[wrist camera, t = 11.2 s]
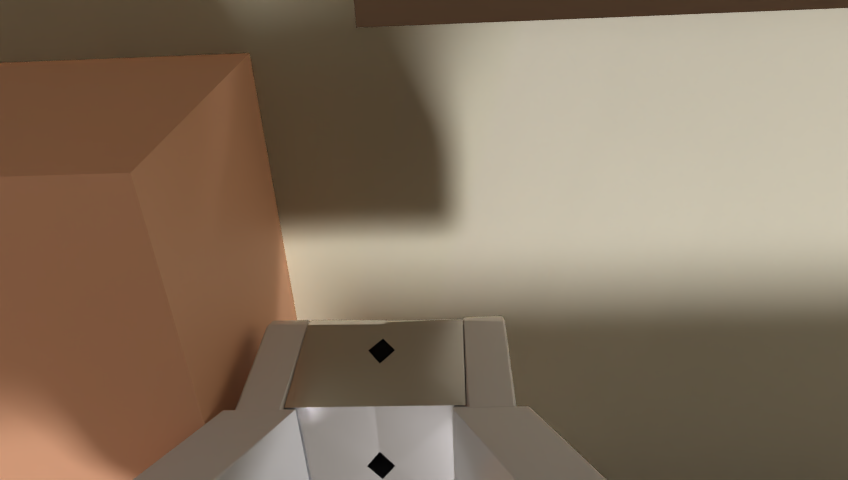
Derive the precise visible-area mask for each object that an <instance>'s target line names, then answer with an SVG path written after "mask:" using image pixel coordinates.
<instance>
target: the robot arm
mask: <svg viewBox="0 0 848 480" xmlns="http://www.w3.org/2000/svg"><path fill="white" fill-rule="evenodd" d="M133 480H607V479H605V478H604V477H603V476H602V475H601V474H600V473H599V472H598V471H597V470H596V469H595V468H594V467H593V466H592V465H591V464H590V463H589V462H587V461H586V460H585V459H584V458H583V457H582V456H581V455H580V454H579V453H578V452H577V451H576V450H575V449H574V448H573V447H572V446H570V445H569V444H568V443H567V442H566V441H565V440H564V439H563V438H562V437H561V436H560V435H559V434H558V433H557V432H556V431H555V430H554V429H552V428H551V427H550V426H549V425H548V424H547V423H546V422H545V421H544V420H543V419H542V418H541V417H540V416H539V415H538V414H537V413H535V412H534V411H533V410H532V409H531V408H530V407H529V406H516V399H515V392H514V384H513V377H512V369H511V362H510V354H509V347H508V340H507V332H506V325H505V319H504V318H503V317H502V316H483V317H464V320H463V319H436V320H395V321H387V320H312V321H309V320H283V321H273V322H272V323H270V324H269V325H268V326H267V328H266V330H265V333H264V335H263V338H262V341H261V343H260V346H259V349H258V351H257V354H256V356H255V359H254V362H253V364H252V367H251V370H250V372H249V375H248V377H247V380H246V383H245V385H244V388H243V391H242V393H241V396H240V398H239V401H238V404H237V406H236V409H235V410H223V411H222V412H220V413H219V414H218V415H216V416H215V417H214V418H213V419H211V420H210V421H209V422H207V423H206V424H205V425H203V426H202V427H201V428H200V429H198V430H197V431H196V432H194V433H193V434H192V435H190V436H189V437H188V438H186V439H185V440H184V441H183V442H181V443H180V444H179V445H177V446H176V447H175V448H173V449H172V450H171V451H170V452H168V453H167V454H166V455H164V456H163V457H162V458H160V459H159V460H158V461H156V462H155V463H154V464H153V465H151V466H150V467H149V468H147V469H146V470H145V471H143V472H142V473H141V474H140V475H138V476H137V477H136V478H134V479H133Z"/></svg>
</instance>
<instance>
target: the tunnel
mask: <svg viewBox="0 0 848 480" xmlns="http://www.w3.org/2000/svg"><path fill="white" fill-rule="evenodd" d="M354 6H355V17H356V28H357V27H381V26H406V25H431V24H456V23H481V22H506V21H530V20H555V19H580V18H605V17H630V16H655V15H680V14H704V13H729V12H754V11H779V10H804V9H829V8H848V0H354Z"/></svg>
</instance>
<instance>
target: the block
mask: <svg viewBox="0 0 848 480" xmlns="http://www.w3.org/2000/svg"><path fill="white" fill-rule="evenodd" d="M283 320H297V317H296V311H295V306H294V300H293V294H292V289H291V283H290V278H289V272H288V266H287V261H286V255H285V249H284V244H283V238H282V233H281V227H280V221H279V216H278V210H277V205H276V199H275V193H274V188H273V182H272V176H271V171H270V165H269V160H268V154H267V148H266V143H265V137H264V132H263V126H262V120H261V115H260V109H259V103H258V98H257V92H256V87H255V81H254V75H253V70H252V64H251V59H250V53H234V54H209V55H184V56H158V57H133V58H108V59H83V60H57V61H32V62H7V63H0V480H133V479H134V478H136V477H137V476H138V475H140V474H141V473H142V472H143V471H145V470H146V469H147V468H149V467H150V466H151V465H153V464H154V463H155V462H156V461H158V460H159V459H160V458H162V457H163V456H164V455H166V454H167V453H168V452H170V451H171V450H172V449H173V448H175V447H176V446H177V445H179V444H180V443H181V442H183V441H184V440H185V439H186V438H188V437H189V436H190V435H192V434H193V433H194V432H196V431H197V430H198V429H200V428H201V427H202V426H203V425H205V424H206V423H207V422H209V421H210V420H211V419H213V418H214V417H215V416H216V415H218V414H219V413H220V412H222V411H223V410H235V409H236V406H237V404H238V401H239V398H240V396H241V393H242V391H243V388H244V385H245V383H246V380H247V377H248V375H249V372H250V370H251V367H252V364H253V362H254V359H255V356H256V354H257V351H258V349H259V346H260V343H261V341H262V338H263V335H264V333H265V330H266V328H267V326H268V325H269V324H270V323H272V322H273V321H283Z"/></svg>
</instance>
